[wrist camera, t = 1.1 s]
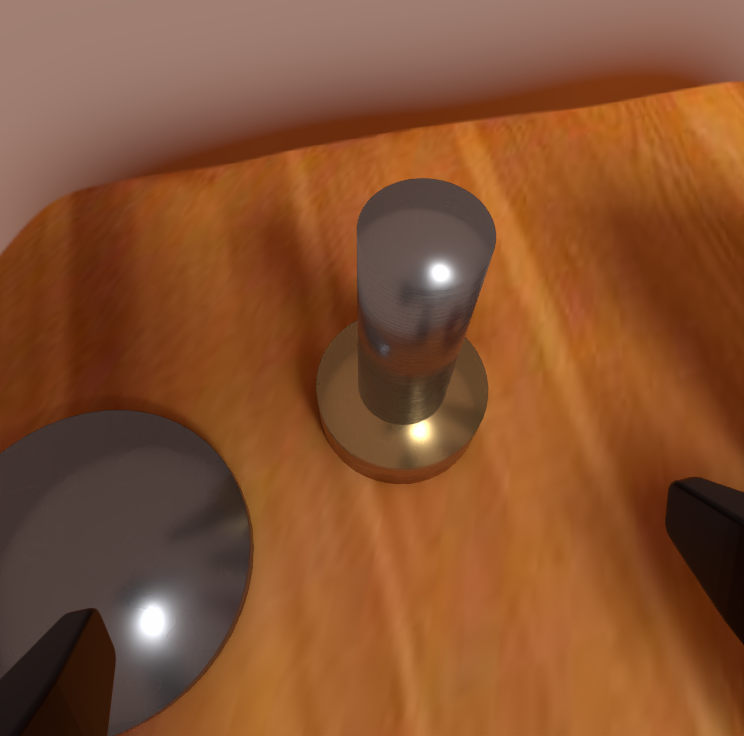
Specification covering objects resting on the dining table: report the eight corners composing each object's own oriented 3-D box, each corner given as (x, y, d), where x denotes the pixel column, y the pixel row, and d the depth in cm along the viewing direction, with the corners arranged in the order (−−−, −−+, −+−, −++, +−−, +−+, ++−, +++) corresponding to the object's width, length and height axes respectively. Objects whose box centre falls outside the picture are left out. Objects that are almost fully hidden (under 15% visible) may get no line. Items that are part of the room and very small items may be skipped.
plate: (306, 488, 24) (304, 482, 23) (139, 814, 19) (128, 821, 18) (69, 377, 26) (58, 367, 25) (-137, 646, 21) (-160, 646, 20)
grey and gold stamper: (498, 372, 27) (593, 182, 16) (442, 511, 24) (511, 396, 13) (360, 316, 28) (361, 104, 17) (291, 442, 25) (239, 284, 14)
